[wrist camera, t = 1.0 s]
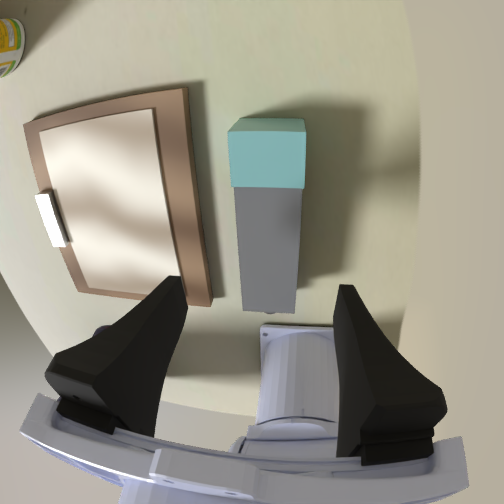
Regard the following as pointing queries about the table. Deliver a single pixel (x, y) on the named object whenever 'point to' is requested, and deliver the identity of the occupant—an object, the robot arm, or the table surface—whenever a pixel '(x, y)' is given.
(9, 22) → the supplement bottle
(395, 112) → the table surface
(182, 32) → the table surface
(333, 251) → the table surface
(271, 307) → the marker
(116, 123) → the clipboard
